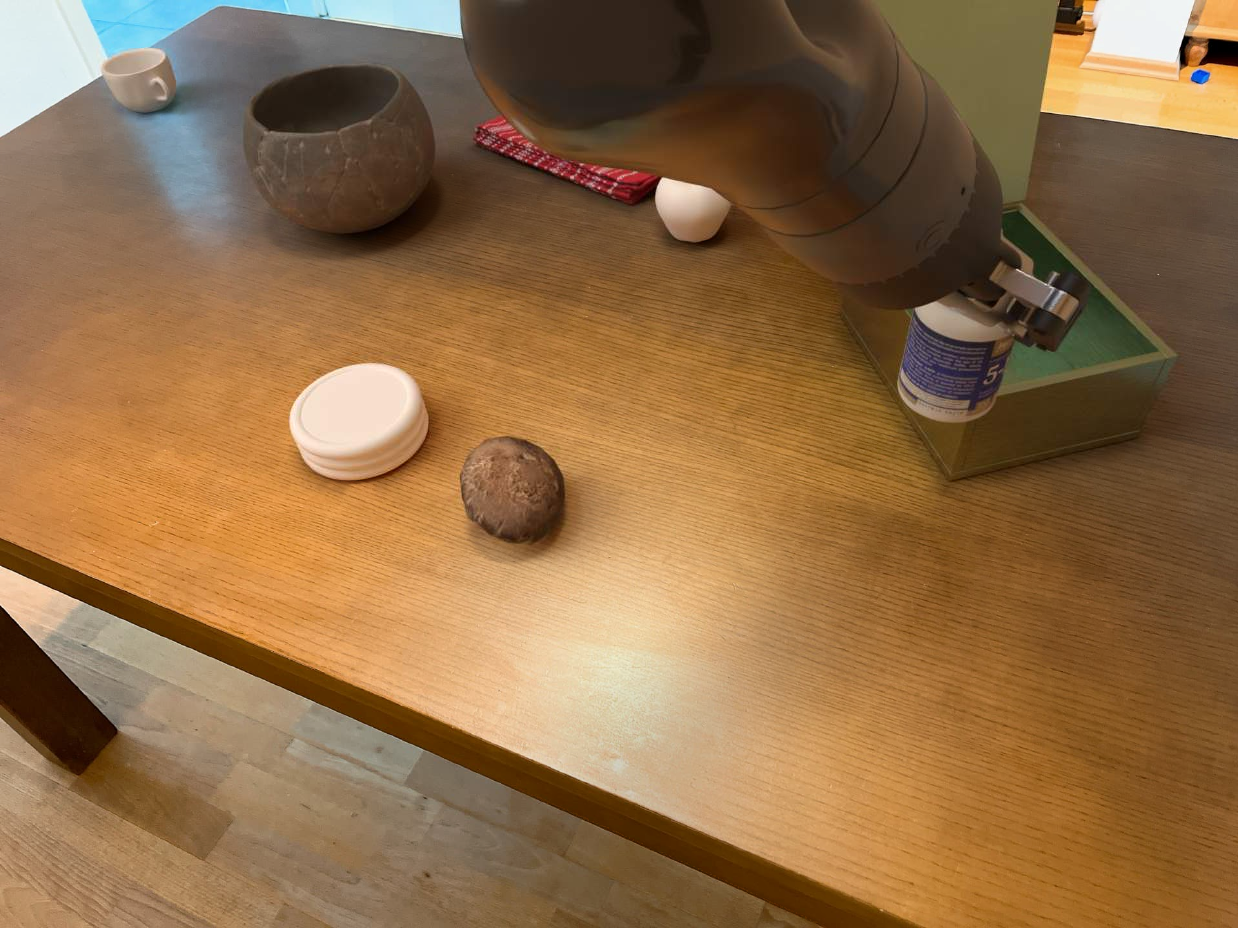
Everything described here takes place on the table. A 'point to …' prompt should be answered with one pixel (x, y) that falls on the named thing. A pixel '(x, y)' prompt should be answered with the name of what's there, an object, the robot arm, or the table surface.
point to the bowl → (339, 146)
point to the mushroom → (512, 490)
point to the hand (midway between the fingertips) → (985, 301)
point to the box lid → (985, 70)
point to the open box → (1036, 372)
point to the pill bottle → (952, 364)
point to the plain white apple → (690, 209)
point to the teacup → (141, 79)
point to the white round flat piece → (359, 421)
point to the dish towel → (564, 163)
